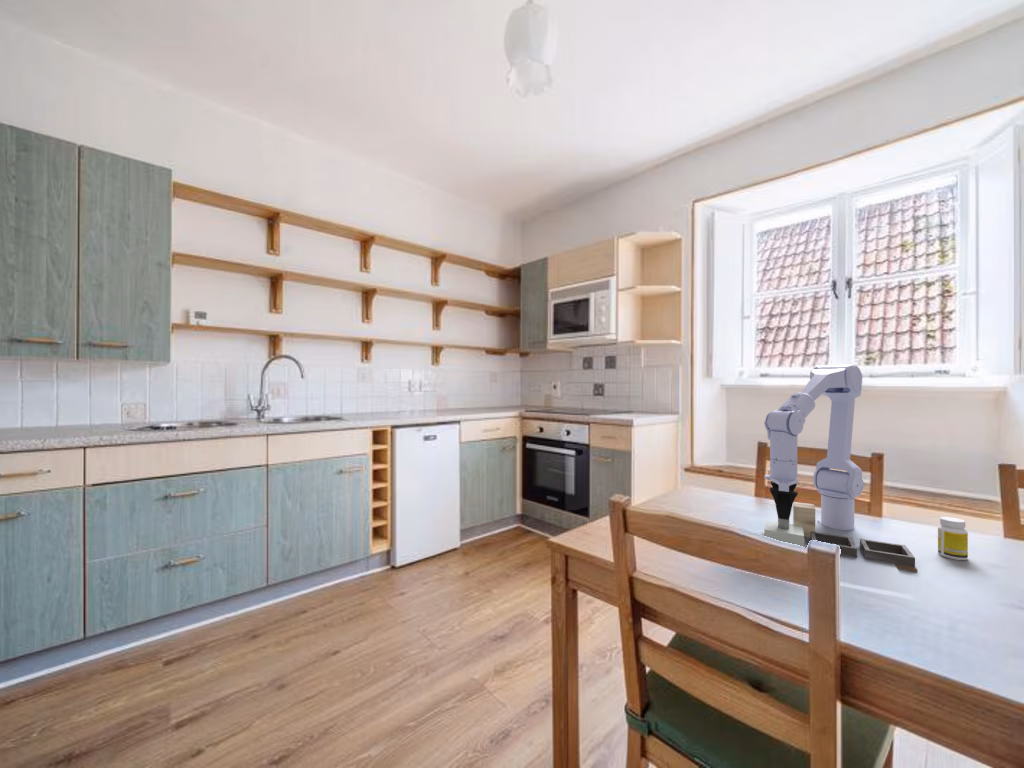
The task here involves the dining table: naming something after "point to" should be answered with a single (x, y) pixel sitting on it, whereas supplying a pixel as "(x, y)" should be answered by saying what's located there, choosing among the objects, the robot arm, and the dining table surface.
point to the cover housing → (784, 532)
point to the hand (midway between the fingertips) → (783, 514)
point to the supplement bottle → (952, 538)
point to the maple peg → (804, 517)
